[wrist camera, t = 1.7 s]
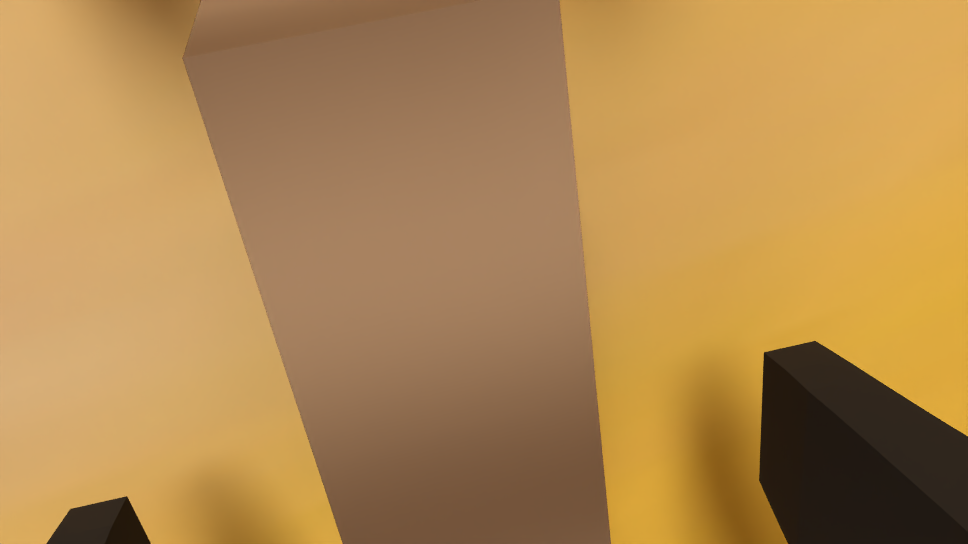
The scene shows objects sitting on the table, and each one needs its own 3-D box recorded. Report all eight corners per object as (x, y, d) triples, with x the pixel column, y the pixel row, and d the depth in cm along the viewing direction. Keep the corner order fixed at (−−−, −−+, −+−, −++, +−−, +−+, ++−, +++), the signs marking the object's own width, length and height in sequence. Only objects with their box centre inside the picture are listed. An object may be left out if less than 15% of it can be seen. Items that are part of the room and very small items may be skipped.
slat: (542, 503, 15) (635, 799, 11) (402, 536, 15) (444, 850, 11) (447, -130, 10) (557, -15, 6) (230, -90, 10) (182, 57, 6)
